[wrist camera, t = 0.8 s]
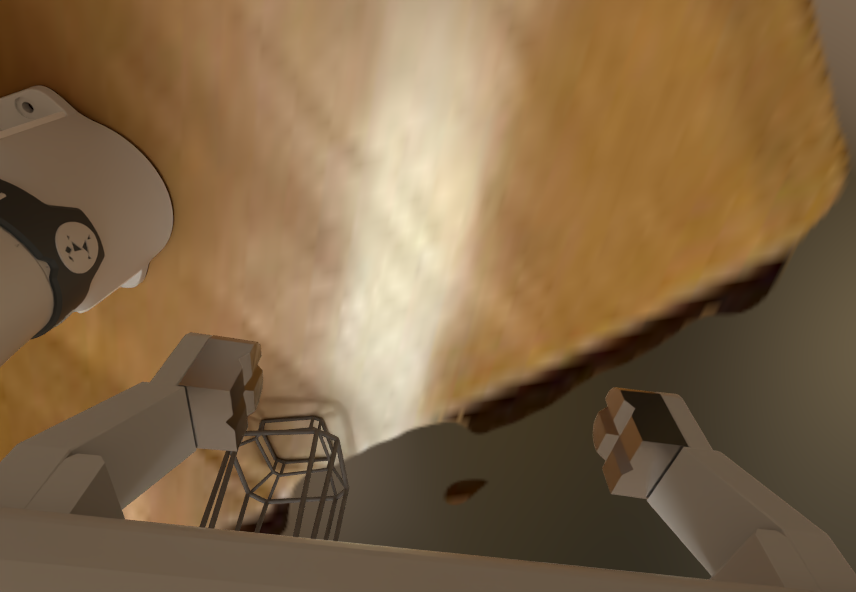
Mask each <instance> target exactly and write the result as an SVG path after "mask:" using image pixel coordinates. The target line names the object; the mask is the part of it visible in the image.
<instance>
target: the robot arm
mask: <svg viewBox="0 0 856 592" xmlns="http://www.w3.org/2000/svg"><path fill="white" fill-rule="evenodd" d="M28 103H30V104H31V105H32V107H33V109H34V110H32V109H31V108H30V107H29V104H28ZM172 227H173V210H172V205H171V201H170V197H169V194H168V192H167V189H166V187H165V185H164V183H163V181H162V179H161V177H160V176H159V174H158V173H157V171H156V170H155V168H154V167H153V166H152V164H151V163H150V162H149V161H148V160H147V158H146V157H145V156H144V155H143V154H142V153H141V152H140V151H139V150H138V149H137V148H136V147H134V146H133V145H132V144H131V143H130V142H128V141H127V140H126V139H125V138H123V137H122V136H120V135H119V134H117V133H116V132H114V131H112V130H111V129H109V128H107V127H105V126H103V125H101V124H99V123H97V122H95V121H93V120H90V119H88V118H87V117H85V116H83V115H81V114H80V113H78V112H77V111H76V110H75V109H74V108H73V107H72V106H71V105H70V104H68V103H67V102H66V101H65V100H64V99H63V98H62V97H60V96H59V95H58V94H57V93H55V92H54V91H53V90H51V89H49V88H47V87H45V86H41V85H37V86H33V87H30V88H27V89H24V90H21V91H19V92H16V93H13V94H10V95H7V96H5V97H2V98H0V367H1V366H2V365H3V364H4V363H5V362H6V361H7V360H8V359H9V358H10V357H11V356H12V355H13V354H14V353H15V352H17V351H18V350H19V349H20V348H21V347H22V346H23V345H24V344H25V343H26V342H28V341H29V340H30V339H34V338H37V337H39V336H41V335H43V334H45V333H47V332H48V331H49V330H51V329H52V328H54V327H56V326H58V325H59V324H60V323H62V322H63V321H64V320H65V319H67V318H68V317H69V316H70V315H71V314H72V313H73V312H78V313H83V312H86V311H88V310H90V309H91V308H93V307H94V306H95V305H97V304H98V303H99V302H101V301H102V300H103V299H105V298H106V297H107V296H109V295H110V294H111V293H113V292H114V291H115V290H117V289H118V288H119V287H126V288H133V287H136V286H137V285H138V284H140V283H141V282H142V281H143V280H144V278H145V276H146V273H147V269H148V265H149V262H150V261H151V260H152V259H153V257H155V256H156V255H157V254H158V253H159V252H160V251H161V250H162V249H163V248H164V246H165V245H166V243H167V242H168V240H169V238H170V235H171V232H172ZM261 356H262V355H261V345H260V344H259V343H258V342H255V341H248V340H242V339H235V338H229V337H222V336H215V335H213V336H212V335H206V334H199V333H192V332H190V333H188V334H187V335H185V336H184V337H183V338H182V340H181V341H180V343H179V344H178V345H177V347H176V348H175V349H174V351H173V352H172V353H171V355H170V356H169V357H168V359H167V360H166V361H165V363H164V364H163V366H162V367H161V368H160V370H159V371H158V372H157V374H156V375H155V376H154V378H153V379H152V380H151V382H150V383H149V382H141V383H139V384H137V385H135V386H133V387H131V388H129V389H127V390H125V391H123V392H121V393H119V394H117V395H115V396H113V397H111V398H109V399H107V400H105V401H103V402H101V403H99V404H97V405H95V406H93V407H91V408H89V409H87V410H85V411H83V412H81V413H79V414H77V415H75V416H73V417H71V418H69V419H67V420H65V421H63V422H61V423H59V424H57V425H55V426H53V427H51V428H49V429H47V430H45V431H43V432H41V433H39V434H37V435H35V436H33V437H31V438H29V439H27V440H25V441H23V442H21V443H19V444H17V445H16V446H15V447H14V448H13V449H12V450H11V452H10V453H9V454H8V455H7V456H6V457H5V458H4V459H3V460H2V461H1V462H0V592H856V574H855V573H854V571H853V570H852V569H851V567H850V566H849V564H848V563H847V561H846V560H845V559H844V557H843V556H842V554H841V553H840V552H839V550H838V549H837V547H836V546H835V544H834V543H833V541H832V540H831V539H830V537H829V536H828V535H827V534H826V533H825V532H823V531H822V530H821V529H820V528H818V527H817V526H815V525H814V524H813V523H812V522H810V521H809V520H808V519H806V518H805V517H804V516H803V515H801V514H800V513H799V512H797V511H796V510H794V509H793V508H792V507H791V506H790V505H788V504H787V503H786V502H785V501H783V500H782V499H781V498H779V497H778V496H777V495H775V494H774V493H773V492H772V491H770V490H769V489H768V488H766V487H765V486H764V485H762V484H761V483H760V482H759V481H757V480H756V479H755V478H753V477H752V476H751V475H749V474H748V473H747V472H746V471H744V470H743V469H742V468H741V467H739V466H738V465H737V464H735V463H734V462H733V461H731V460H730V459H729V458H728V457H726V456H725V455H724V454H722V453H721V452H720V451H713V450H712V448H711V446H710V445H709V443H708V441H707V439H706V438H705V436H704V434H703V433H702V431H701V429H700V428H699V426H698V424H697V422H696V421H695V419H694V417H693V416H692V414H691V412H690V411H689V409H688V407H687V406H686V404H685V402H684V400H683V399H682V398H681V397H680V396H679V395H677V394H670V393H660V392H649V391H640V390H633V389H624V388H616V387H614V388H612V389H611V390H610V391H609V392H608V395H607V397H606V398H605V400H606V403H607V405H608V407H606V408H605V409H603V410H601V411H600V412H598V414H597V417H596V419H595V421H594V427H593V440H594V445H595V448H596V451H597V453H598V454H599V455H601V457H602V458H604V459H605V460H606V462H605V464H604V466H603V468H602V469H603V472H604V475H605V478H606V481H607V484H608V487H609V490H610V493H611V494H616V495H623V496H631V497H637V498H644V499H648V500H647V502H649V504H650V505H651V506H652V507H653V508H654V510H655V511H656V512H657V513H658V514H659V515H660V517H661V518H662V519H663V520H664V521H665V522H666V524H667V525H668V526H669V527H670V528H671V529H672V530H673V532H674V533H675V534H676V535H677V536H678V537H679V538H680V540H681V541H682V542H683V543H684V544H685V546H686V547H687V548H688V549H689V550H690V551H691V552H692V553H693V555H694V556H695V557H696V558H697V559H698V561H699V562H700V563H701V564H702V565H703V566H704V567H705V568H706V570H707V571H708V572H709V573H710V574H711V576H712V577H711V578H710V579H709V580H707V579H698V578H688V577H679V576H669V575H659V574H650V573H640V572H630V571H621V570H611V569H601V568H591V567H581V566H572V565H562V564H553V563H543V562H532V561H522V560H513V559H503V558H494V557H483V556H474V555H464V554H453V553H445V552H435V551H425V550H415V549H406V548H395V547H386V546H376V545H367V544H357V543H347V542H338V541H329V540H319V539H309V538H300V537H291V536H281V535H272V534H262V533H252V532H243V531H233V530H223V529H213V528H204V527H194V526H184V525H175V524H165V523H155V522H145V521H136V520H126V519H125V518H124V515H123V512H122V509H124V508H125V507H126V506H127V505H129V504H130V503H131V502H132V501H134V500H135V499H136V498H137V497H139V496H140V495H141V494H142V493H144V492H145V491H146V490H147V489H149V488H150V487H151V486H152V485H154V484H155V483H156V482H157V481H159V480H160V479H161V478H162V477H164V476H165V475H166V474H167V473H169V472H170V471H171V470H172V469H174V468H175V467H176V466H177V465H179V464H180V463H181V462H182V461H184V460H185V459H186V458H187V457H189V456H190V455H191V454H192V453H194V452H195V451H196V448H202V449H214V450H226V451H237V450H238V448H239V446H240V444H241V441H242V439H243V437H244V435H245V432H246V430H247V428H248V422H247V416H248V415H250V414H251V413H253V412H254V411H255V410H256V407H257V405H258V402H259V399H260V395H261V391H262V384H263V371H262V369H261V368H260V367H259V366H258V365H257V364H258V362H259V360H260V358H261Z"/></svg>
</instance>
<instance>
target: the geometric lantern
mask: <svg viewBox="0 0 856 592" xmlns="http://www.w3.org/2000/svg"><path fill="white" fill-rule="evenodd" d="M308 419H311V422H310V426H309V427H308V428H299V429H289V430H265V431H263V429H264V425H265V423H271V422H283V421H296V420H308ZM314 420H317V421H319V425H318V429H317V428H315V427H313V422H314ZM321 425H322V428H323V430H324V431H322V430H321ZM292 434H314V437H313V442H312V447H311V452H310V457H309V459H306V460H293V461H283V460H280V459H277V458H276V456H275V454H274V452H273V450H272V447H271V445H270V443H269V441H268V439H267V437H266V435H292ZM260 435H262V436H263V438H264V440H265V442H266V444H267V446H268V448H269V450H270V452H271V454H272V457H273V459H274V460H275V463H274V466H273V467H272V465H271V463H270V461H269V459H268V457H267V456H266V454H265V452H264V450H263V448H262V446H261V444H260V442H259V440H258V437H259V436H260ZM244 436H255V437H254V438H251V439H249V440H246V441H244V442H241V444H240V446H242V445H244V444H247V443H249V442H252V441H254V440H255V441H256V443H257V445H258V447H259V449H260V451H261V453H262V455H263V457H264V459H265V460H266V462H267V464H268V466H269V468H270V470H271V472H270V473H269V474H268V475H267V476H266V477H265V478H264V479H263V480H262V481H261V482H259V483H258V484H257V485H256V486H255V487H254V488H253V489H252V490H251V491H250V489H249V487H248V485H247V482H246V480H245V477H244V475H243V472H242V470H241V467H240V465H239V462H238V460H237V457H236V455H237V451H238V450H237V451H226V452H225V455H224V458H223V461H222V464H221V467H220V470H219V473H218V476H217V478H216V481H215V484H214V487H213V490H212V493H211V496H210V498H209V501H208V504H207V507H206V510H205V513H204V515H203V518H202V521H201V524H200V527H204V528H205V526H206V523H207V520H208V517H209V514H210V511H211V508H212V505H213V503H214V500H215V497H216V494H217V491H218V488H219V485H220V482H221V479H222V476H223V473H224V470H225V467H226V464H227V461H228V458H229V455H230V456H231V457H230V460H229V464H228V467H227V470H226V473H225V476H224V479H223V483H222V486H221V489H220V492H219V495H218V499H217V502H216V505H215V508H214V511H213V514H212V518H211V521H210V524H209V527H208V528H213V529H214V527H215V524H216V521H217V517H218V514H219V511H220V507H221V504H222V501H223V498H224V494H225V491H226V488H227V484H228V481H229V478H230V474H231V471H232V468H233V465H235V468H236V470H237V472H238V475H239V477H240V480H241V482H242V485H243V487H244V489H245V492H246V495H245V498H244V502H243V505H242V508H241V512H240V515H239V518H238V521H237V525H236V528H235V531H240V527H241V524H242V520H243V517H244V514H245V510H246V507H247V503H248V500H249V497H252V498H254V499H256V500H258V501H260V502H262V503H264V506H263V509H262V512H261V515H260V518H259V520H258V523H257V526H256V529H255V532H254V533H259V531H260V528H261V525H262V522H263V519H264V516H265V513H266V510H267V507H268V505H269V504H276V503H294V502H300V505H299V510H298V515H297V519H296V524H295V529H294V534H293V537H299V533H300V528H301V523H302V518H303V513H304V508H305V503H306V502H312V501H320V503H319V507H318V511H317V515H316V519H315V523H314V527H313V531H312V535H311V539H316V537H317V533H318V529H319V524H320V520H321V516H322V512H323V508H324V504H325V501H329V500H333V503H332V507H331V511H330V515H329V520H328V524H327V528H326V533H325V536H324V540H328V538H329V534H330V529H331V525H332V521H333V517H334V512H335V508H336V504H337V500H338V499H339V498H340V497H342V496H343V499H342V503H341V508H340V512H339V517H338V521H337V526H336V531H335V535H334V539H333V541H338V538H339V533H340V528H341V524H342V519H343V514H344V510H345V505H346V500H347V496H348V491H349V485H348V480H347V475H346V470H345V465H344V460H343V455H342V450H341V445H340V440H339V438H338V437H337V436H335V435H332V434H330V433H327V430H326V427H325V424H324V421H323V419H321V418H317V417H314V416H309V417H297V418H284V419H272V420H262V421H261V423H260V426H259V429H258V431H246V432H245V435H244ZM318 436H319V438H320V440H321V443H322V446H323V448H324V451H325V453H326V456H327V458H319V459H314V457H315V452H316V447H317V441H318ZM322 436H324V437H326V438H327V441H328V444H329V447H330V449H331V452H332V454H331V457H330V456H329V453H328V450H327V448H326V445H325V442H324V440H323V437H322ZM330 439H332V440H334V441H335V442H334V446H332V444H331V441H330ZM336 453H338V458H339V463H340V468H341V473H342V478H343V480H342V478H341V477H340V475H339V474H338V472H337V471H336V469H335V468H334V462H335V458H336ZM317 461H328V465H327V468H322V469H314V470H312V468H313V463H314V462H317ZM278 462H280V463H283V464H282V467H281V471H280V473H278V472H276V471H275V469H276V466H277V463H278ZM304 462H308V467H307V470H306V471H298V472H291V473H283V470H284V467H285V464H291V463H304ZM332 470H333V471H334V473H335V474H336V476H337V477H338V479H339V480H340V482H341V483H342V485H343V486H344V488H345V489H343V490H342V491H341V492H340V493H339V494H337V492H336V488H335V485H334V481H333V478H332ZM322 471H327V475H326V479H325V483H324V487H323V491H322V495H321V497H307V493H308V488H309V482H310V478H311V473H314V472H322ZM272 474H275V475H277V477H276V480H275V482H274V485H273V487H272V490H271V492H270V495H269V497H268V500H267V499H264V498H262V497H260V496H258V495H256V494H254V493H253V492H254V491H255V490H256V489H257V488H258V487H259V486H260V485H261V484H263V483H264V482H265V481H266V480H267V479H268V478H269V477H270V476H271V475H272ZM298 474H306V476H305V481H304V486H303V491H302V496H301V498H286V499H271V497H272V495H273V492H274V490H275V487H276V485H277V482H278V480H279V477H282V476H290V475H298ZM330 481H331V485H332V489H333V492H334V496H326V495H327V491H328V487H329V483H330Z"/></svg>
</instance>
